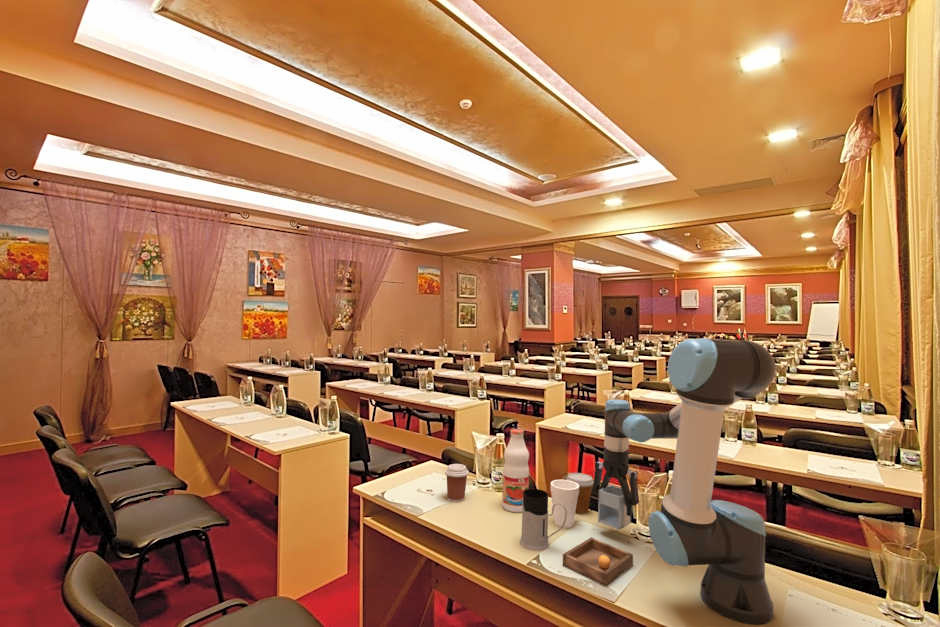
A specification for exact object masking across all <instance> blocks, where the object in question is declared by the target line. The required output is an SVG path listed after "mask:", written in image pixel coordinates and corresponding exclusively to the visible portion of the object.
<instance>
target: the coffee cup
mask: <svg viewBox="0 0 940 627" xmlns="http://www.w3.org/2000/svg"><path fill="white" fill-rule="evenodd" d="M444 474H445V475H446V491H447V493H446V494H447V500H448V501H449V502H453V503H459V502H464V500H465V496H466V488H467V487H466V486H467V481H468V480H467V479H468V475H469V474H470V471H469V470H468V469H467V466H466V465H465V464H462V463H452V464H449V465H448V466H447V468H446V469H445V470H444Z"/></svg>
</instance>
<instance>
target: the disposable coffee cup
mask: <svg viewBox="0 0 940 627" xmlns="http://www.w3.org/2000/svg"><path fill="white" fill-rule="evenodd" d="M566 480H569V481H573V482H575V483H577V484H578V485H579V495H578V498H577V505H576V511H575V514H579V515H581V514H583V515H584V514H587V513H589V510H590V509H589V507H590V502H591V495H592V489H593V482H594V478H593V477H592V476H591V475H589V474H587V473H581V472H571V473H569V474H567V477H566Z"/></svg>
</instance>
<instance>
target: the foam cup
mask: <svg viewBox="0 0 940 627" xmlns="http://www.w3.org/2000/svg"><path fill="white" fill-rule="evenodd" d="M550 493H551V504H552V506H553V505H554V504H556V503H561V504H563V505H564V506H565V508H566V510H567V518H566V522H565V524H564V526H563V528H562V529H565V528H566V529H568V528H572V527H573V526H574V522H575V517H576V513H575V511H576V505H577V498H578V495H579V485H578V484H577V483H575V482H573V481H569V480H567V479H554V480H552V481H550ZM552 516H553V523H554V525H555V526H557V527H559V528H561V526H562V525H563V523H564V520H565V509H564V508H563V506H561V505H559V504H557V505H555V507H554V510H553V515H552Z"/></svg>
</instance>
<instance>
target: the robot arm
mask: <svg viewBox="0 0 940 627" xmlns="http://www.w3.org/2000/svg"><path fill="white" fill-rule="evenodd" d="M667 362H668V364H667V373H668V375H669V376H668V377H669V383H671V385H672V386H673V387H674V388H675V389H676V391H675V392H676V396H678V398H679V399H680V400H681V402H680V403H678V404H677V405H676V406H674V407H673V408H672V409H670V410H669V411H667V412H633V411H631V404H630V402H629V401H628V400H624V399H619V398H618V399H613V398H612V399H608V400H606V401H605V408H604V442H603V446H604V449H603V461H600V460H599V461H596V462H595V463H594V468H595V471H594V478H593V481H594V482H593V485H592V489H591V492H593V493H595V494H596V495H597V501H598V500H599V490H600V489H602V488H603V489H604V488H606V487H607V486H609V485H610V481H611V479H612V478H613V479H615V480H617V482H618V483H619V485H620V488H622V492H623V495H624V498H625V501H626V504H625V505H624V519H623V526H625V527H627V526H629V525H630V524H631V523H630V516H631V517H632V515H633V511H634V510H633V509H634V506H637V505H638V504H639V503H640V496H639V488H638V474H639V472H638V471H637V470H636V471H634V470H632V469H630V467H629V455H630V454H629V448H630V445H629V444H630V440H632V441H635V442H637V443H645V442H646V443H647V442H648V441H650V440H651V439H653V440H655V439H658V440H659V439H661V440H663V439H669V440H670V439H672V440H673V439H674V440H675V439H677V440H676V447H675V453H674V454H675V456H674V462H673V471H672V478H671V483H670V484H671V485H670V493H669V494H667V495H665V496H664V497H662V501H661V505H660V506H661V508H660V510H655V511H652V513H650V515H649V517H648V530H649V531H648V532H649V535H650V539H651V542H652V545H653V547H654V549H655V552H656V553H657V554H658V556H659V557H660V558H661V559H662V560H663V561H664V562H665V563H666V564H667V565H670V566H675V567H677V566H679V567H680V566H681V567H688V566H699V565H700V566H703V565H704V566H705V565H707V567H706V570H705V572H704V574H703V577H702V580H701V582H700V591H699V592H700V597H701V599H702V601H703V602H704V603H705V604H706V605H707V606H708V607H709V608H710V609H712V610H713V611H715V612H716V613H718V614H720V615H722V616H724V617H726V618H728V619H732V620H734V621H737V622H741V623H745V624H751V625H752V624H753V625H763V624H767V623H769V622H771V621H772V620H773V618H774V603H773V601H772V598H771V595H770V592H769V588H768V584H767V581H766V579H765V578H766V576H765V575H766V574H765V572H766V571H765V570H766V539H767V538H766V537H767V533H766V525H765V524H766V522H765V519H764V518H763V516H762V515H761V514H759V512H756V511H755V510H753V509H751V508H749V507H747V506H744V505H741V504H738V503H735V502H731V501H726V500H722V499H721V500H719V499H712V498H713V490H714V482H715V476H716V469H717V463H718V457H719V456H718V455H719V449H720V443H721V434H722V429H723V422H724V421H723V420H724V415H725V410H726V409H727V408H729V407H730V406H732V405H734V404H735V403H737V402H739V401H740V400H743V399H744V400H750V399H753V398H755V397H756V396H757V395H759V394H761V393H762V392H764V391H766V389H768V388H769V387H770V386H771V385H772V384H773V382H774V379H775V377H776V375H777V366H776V362H775V359H774V357H773V356H772V353H770V351H769V350H768V349H766V348H765V346H763V345H761V344H759V343H757V342H754V341H752V340H748V339H722V338H720V339H719V338H705V337H701V338H691V339H690V338H689V339H688V338H687V339H685V340H682V341H681V342H680V343H679V344H677V345H676V346H675V347H674V349H673V350H672V352H671V354H670V356H669V357H668V361H667ZM603 469H604V470H605V473H604V474H603ZM602 474H603V475H604V476H602ZM627 474H628V477H627ZM602 477H603V480H602ZM628 478H629V483H628ZM630 491H631V493H630ZM625 527H624V528H625Z"/></svg>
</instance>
